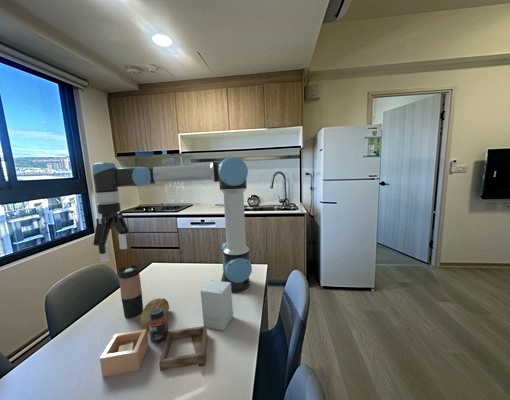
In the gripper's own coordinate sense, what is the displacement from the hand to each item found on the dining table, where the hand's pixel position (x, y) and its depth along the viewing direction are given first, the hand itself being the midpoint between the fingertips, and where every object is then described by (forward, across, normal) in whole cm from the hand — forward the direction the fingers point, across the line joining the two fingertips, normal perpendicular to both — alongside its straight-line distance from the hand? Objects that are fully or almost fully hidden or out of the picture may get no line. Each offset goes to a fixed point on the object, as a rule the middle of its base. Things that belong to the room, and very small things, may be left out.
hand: (115, 254), depth 91 cm
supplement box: (+28, +8, +41) cm, 50 cm away
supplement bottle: (+28, +15, +20) cm, 37 cm away
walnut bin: (+27, +22, +31) cm, 47 cm away
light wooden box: (+27, +24, +13) cm, 39 cm away
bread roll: (+28, +4, +15) cm, 32 cm away
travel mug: (+28, -2, +4) cm, 28 cm away
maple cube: (+26, +24, +13) cm, 38 cm away
